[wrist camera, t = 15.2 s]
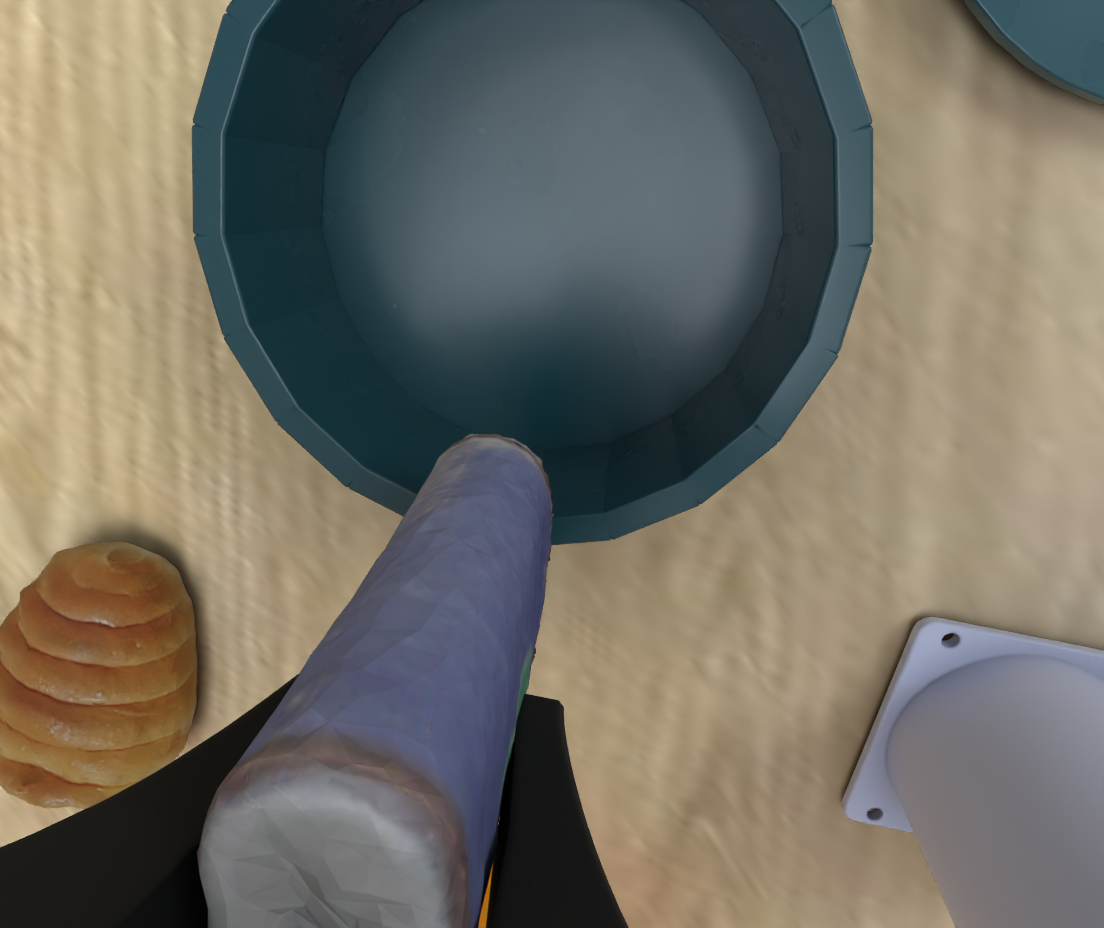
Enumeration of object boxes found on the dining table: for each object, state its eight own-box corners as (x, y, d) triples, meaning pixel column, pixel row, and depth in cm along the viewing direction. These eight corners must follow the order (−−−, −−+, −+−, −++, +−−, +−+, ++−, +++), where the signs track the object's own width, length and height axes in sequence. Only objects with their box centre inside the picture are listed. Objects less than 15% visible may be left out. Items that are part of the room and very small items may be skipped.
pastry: (49, 495, 24) (-52, 548, 20) (242, 569, 24) (176, 634, 21) (21, 705, 27) (-70, 782, 24) (191, 768, 27) (126, 853, 24)
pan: (878, -19, 17) (988, -116, 12) (731, 502, 21) (763, 597, 16) (318, -112, 17) (184, -244, 12) (296, 417, 22) (194, 484, 17)
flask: (443, 413, 14) (3, 986, 4) (590, 451, 14) (528, 1113, 4) (375, 769, 17) (46, 1560, 7) (493, 799, 17) (327, 1626, 7)
